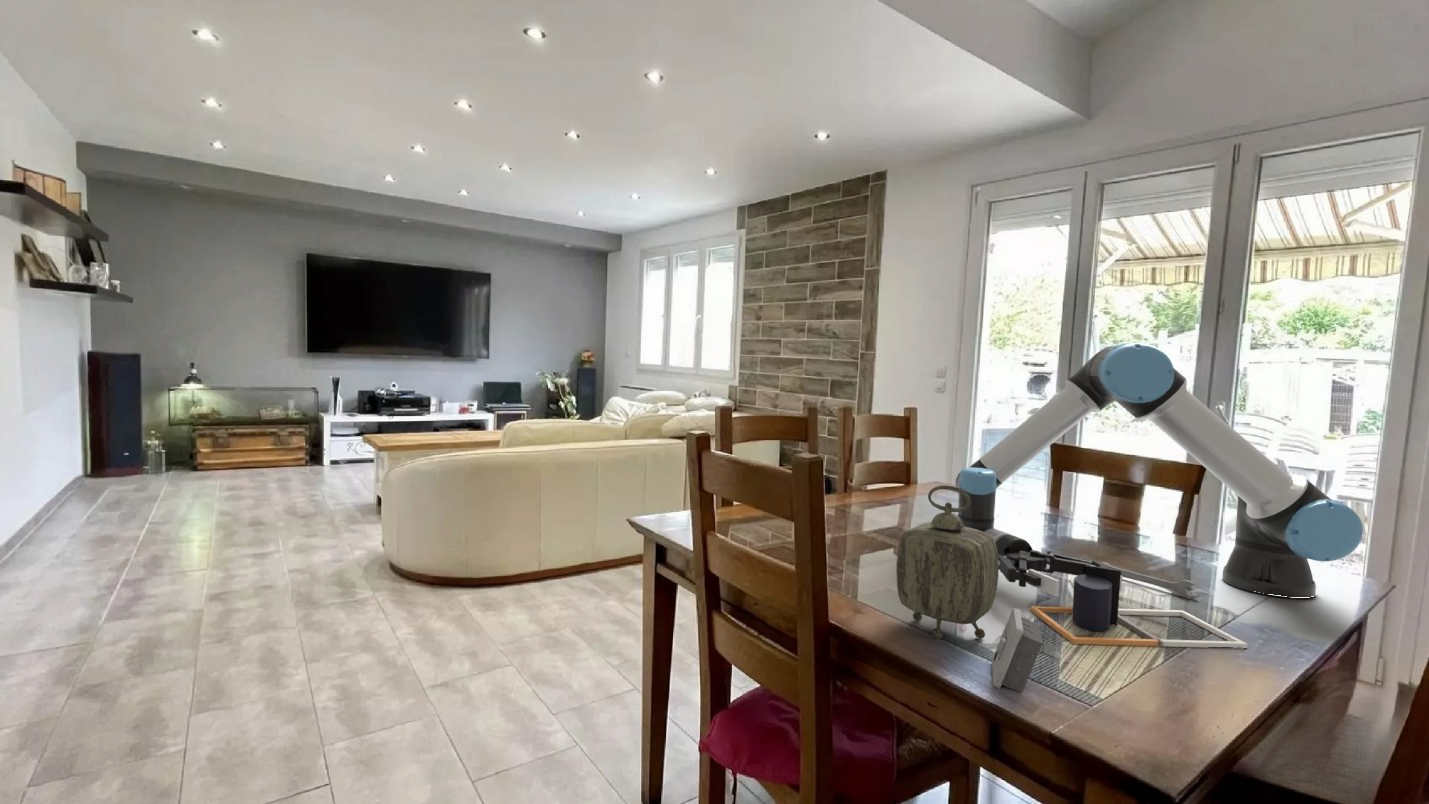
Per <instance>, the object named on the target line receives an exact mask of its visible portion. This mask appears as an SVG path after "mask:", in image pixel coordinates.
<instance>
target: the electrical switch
mask: <svg viewBox="0 0 1429 804" xmlns="http://www.w3.org/2000/svg"><path fill="white" fill-rule="evenodd" d="M1042 646H1043V639H1042V636H1041V629H1040V625H1039V623H1038V622H1034V621H1032V620H1029V619H1028V618H1026V617H1025V616H1021V609H1018V608H1015V607H1013V609H1012V610H1011V612H1010V614H1009V616H1008V619H1007V621H1006V624H1005V625H1004V628H1003V631H1002V633H1001V636H1000V638H999V641H998V644H997V646H996V649H995V651H994V653H993V656H992V660H991V668H992V669H991V674H992V687H994V688H996V689H998V690H1000V689H1001V687H1002V685H1003V686H1005V687H1007V688H1009V689H1013V690H1015V691H1017V692H1018V693H1019V692H1020V693H1023V692H1024V690H1025V687H1026V684H1027V682H1028V680H1029V678H1030V675H1031V672H1032V670H1033V668H1034V666H1035V663H1036V661H1037V658H1038V655H1039V653H1040V651H1041V648H1042Z"/></svg>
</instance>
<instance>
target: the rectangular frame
mask: <svg viewBox="0 0 1429 804" xmlns="http://www.w3.org/2000/svg"><path fill="white" fill-rule="evenodd" d="M1029 607H1030V609H1029V611H1030V612H1031V613H1033V614H1034V615H1035V616H1037V617H1038V618H1039V619H1040V620H1042V621H1044V622H1045V623H1046V624H1047V625H1048V626H1050V627H1051V628H1052V629H1053V630H1055V631H1056V632H1057V633H1059V634H1060V635H1061V636H1062V637H1064V638H1065V639H1066V640H1068V641H1069V642H1070V643H1072V644H1073V645H1101V646H1104V645H1106V646H1108V645H1109V646H1135V647H1136V646H1137V647H1139V646H1142V647H1144V646H1145V647H1170V648H1171V647H1175V648H1178V647H1179V648H1181V647H1182V648H1208V647H1243V648H1242V649H1244V648H1247V649H1248V643H1246V642H1244V640H1241V639H1239V638H1237V637H1235V636H1233V635H1231V634H1229V633H1227V632H1225V631H1223V630H1222V629H1219V628H1217V627H1216V626H1214V625H1212V624H1210V623H1208V622H1206V621H1205V620H1202V619H1200V618H1198V617H1197V616H1194V615H1193V614H1190V613H1188V612H1187V611H1185V610H1183V609H1182V610H1179V609H1177V610H1176V609H1175V610H1174V609H1147V608H1146V609H1144V608H1143V609H1142V608H1118V620H1117V622H1119V623H1120V624H1121V625H1123V626H1125V627H1126V628H1128V629H1130V630H1132V632H1134V633H1137V634H1138V635H1140V636H1141V637H1142V638H1123V637H1122V638H1119V637H1087V636H1086V637H1083V636H1082V637H1080V636H1075V635H1074V634H1072V633H1071V632H1070V631H1068V630H1067V629H1066V628H1064V627H1063V626H1062V625H1061V624H1059V623H1058V622H1056V621H1055V620H1054V619H1052V618H1051V617H1050V616H1048V615H1047V614H1046V613H1048V614H1049V613H1051V614H1052V613H1053V614H1055V613H1057V614H1073V606H1071V607H1070V606H1069V607H1067V606H1066V607H1065V606H1040V605H1039V606H1038V605H1037V606H1035V605H1034V606H1033V605H1032V606H1031V605H1030V606H1029ZM1122 615H1124V616H1126V615H1127V616H1128V615H1129V616H1132V615H1133V616H1158V617H1159V616H1162V617H1163V616H1164V617H1168V616H1169V617H1182V618H1184V619H1185V620H1188V621H1190V622H1192V623H1194V624H1196V625H1197V626H1199V627H1201V628H1203V629H1205V630H1207V631H1208V632H1210V633H1212V634H1214V635H1215V636H1218V637H1220V638H1221V637H1222V639H1223V638H1224V639H1223V640H1194V639H1193V640H1192V639H1190V640H1189V639H1188V640H1187V639H1160V638H1158V637H1156V636H1155V635H1153V634H1151V633H1150V632H1148V631H1147V630H1146V629H1143V628H1142V627H1140V626H1139V625H1138V624H1136V623H1133V622H1132V621H1131V620H1129V619H1127V618H1125V617H1124V616H1122ZM1225 639H1226V640H1225ZM1224 640H1225V641H1224Z"/></svg>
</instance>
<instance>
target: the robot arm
mask: <svg viewBox="0 0 1429 804" xmlns="http://www.w3.org/2000/svg"><path fill="white" fill-rule="evenodd" d="M1187 385H1188V384H1187V378H1186V377H1185V376H1183V374H1181V373H1180V372H1179V371H1178V370H1177V369H1175V368H1174V365H1173V363H1172V361H1171V358H1170V357H1168V355H1167V354H1166V353H1165V352H1164V351H1163V350H1161V349H1159V348H1157V347H1156V346H1154V345H1150V344H1147V343H1143V342H1127V343H1123V344H1122V343H1121V344H1118V345H1112V346H1108V347H1105V348H1103V349H1101V350H1099V351H1098V352H1096V353H1095V354H1093V356H1092V357H1091V358H1089V360H1088V361H1087V362H1085V364H1084V365H1082V367H1080V368H1079V369H1078V370H1077V371H1076V372H1075V373H1074V374H1073V375H1072V376H1071V377H1070V378H1068V379H1067V380H1066V381H1065V387H1064V388H1063V389H1062V390H1061V391H1060V392H1058V394H1056V395H1055V396H1054V397H1052V398H1051V399H1050V400H1049V401H1048V402H1046V403H1045V404H1044V405H1043V406H1041V407H1040V408H1039V409H1038V410H1037V411H1036V412H1034V413H1033V414H1032V415H1030V417H1028V418H1027V419H1026V420H1025V421H1024V422H1022V423H1021V424H1020V425H1019V426H1017V427H1016V428H1015V429H1014V430H1012V431H1011V432H1010V433H1008V435H1006V436H1005V437H1003V439H1001V440H1000V441H999V442H998V443H996V444H995V445H994V446H993V447H992V448H991V449H990V450H989V449H988V451H987V452H985V454H983V455H982V456H981V457H980V458H978V459H977V460H976V461H975V462H973V463H972V464H971V465H970V466H969V467H964V468H962V469H961V470H960V472H959V473H958V474H957V476H956V478H955V487H957V488H960V489H961V490H963V491H964V492H965V493H966V494H967V495H968V496H969V498H970V505H969V507H968V508H967V509H966V510H964V511H960V512H957V516H959V518H960V519H961V520H962V522H963V524H964V527H968V528H972V529H976V530H980V531H982V532H985V533H987V534H988V535H990V536H992V537H993V538H994V541H995V544H996V547H997V553H998V571H1000V572H1001V574H1002V575H1003V576H1004V577H1005V579H1006V580H1007V582H1009V583H1011V584H1012V583H1016V581H1018V586H1019V587H1021V588H1026V587H1027V584H1028V585H1030V586H1032V587H1034V588H1036V589H1039V590H1041V591H1042V592H1045V593H1047V594H1049V595H1051V596H1054V597H1059V595H1060V580H1059V579H1057V578H1054V577H1052V576H1049V575H1047V574H1054V573H1055V572H1056V573H1061V574H1065V575H1066V574H1068V575H1072V576H1078V575H1085V574H1086V565H1090V566H1097V567H1101V566H1100V563H1101V562H1098V561H1096V560H1094V559H1092V560H1087V559H1082V558H1078V557H1074V556H1069V555H1064V554H1059V553H1057V552H1054V551H1052V550H1048V551H1046V553H1045V552H1041V551H1039V550H1033V548H1032V546H1031V544H1030V543H1029V542H1028V541H1027V540H1026V539H1024V538H1022V537H1018V536H1015V535H1013V534H1010V533H1009V532H1006V531H1002V530H1000V529H997V528H994V527H995V510H996V495H997V494H996V493H997V488H999V486H1001V485H1002V484H1003V483H1005V482H1006V481H1007V480H1008V479H1009V478H1011V477H1012V476H1013V475H1015V474H1016V473H1017V472H1018V471H1020V470H1021V469H1022V468H1023V467H1024V466H1026V465H1027V464H1028V463H1029V462H1031V461H1032V460H1033V459H1035V458H1036V457H1037V456H1038V455H1039V454H1040V453H1042V452H1043V451H1045V449H1047V448H1049V447H1050V446H1051V445H1052V444H1053V443H1054V442H1056V441H1057V440H1058V439H1059V438H1061V437H1062V436H1063V435H1065V434H1066V433H1068V431H1069V430H1071V429H1072V428H1073V427H1074V426H1077V424H1078V423H1080V422H1081V421H1082V420H1083V419H1085V418H1086V417H1087V416H1089V415H1090V414H1092V413H1099V412H1102V410H1104V409H1105V408H1106V407H1107V406H1109V405H1111V404H1112V403H1114V402H1116V403H1117V404H1118V405H1120V406H1121V407H1122V408H1123V409H1125V410H1126V411H1127V412H1128V413H1129V414H1130V415H1131V416H1133V417H1134V418H1135V419H1137V420H1149V421H1151V422H1152V423H1153V424H1154V425H1155V426H1157V427H1158V429H1160V430H1161V431H1162V432H1164V433H1165V434H1166V435H1167V436H1168V437H1169V438H1170V439H1172V440H1173V441H1174V442H1175V443H1176V444H1177V445H1179V447H1180V448H1182V449H1183V450H1184V451H1185V452H1187V454H1189V455H1190V456H1191V457H1193V458H1194V459H1195V460H1196V461H1197V462H1199V464H1201V465H1202V466H1203V467H1204V468H1205V469H1206V470H1208V471H1209V472H1210V473H1211V474H1212V475H1214V476H1215V478H1217V479H1218V480H1219V481H1221V483H1223V484H1224V485H1225V486H1226V487H1227V488H1229V489H1230V490H1231V491H1232V492H1233V493H1234V494H1235V495H1237V509H1236V523H1235V526H1236V527H1235V541H1234V547H1233V548H1232V551H1231V552H1230V555H1229V557H1228V560H1227V563H1226V565H1224V567H1222V568H1223V569H1222V577H1221V579H1222V581H1223V582H1224V583H1227V584H1228V585H1230V586H1233V587H1236V588H1238V589H1241V588H1242V589H1241V590H1244V589H1245V591H1248V592H1251V591H1256V592H1260V593H1264V594H1263V595H1265V594H1274V595H1281V596H1287V597H1311V596H1314V595H1315V596H1316V591H1317V584H1316V581H1314V578H1313V574H1312V570H1311V565H1310V564H1309V561H1308V560H1312V561H1317V562H1333V561H1337V560H1340V559H1344V558H1345V557H1347V556H1349V555H1350V554H1352V553H1353V552H1354V551H1355V550H1356V549H1357V548H1358V547H1359V545H1360V544H1361V541H1362V539H1363V531H1364V527H1363V523H1362V520H1361V518H1360V516H1359V514H1358V513H1357V512H1356V511H1355V510H1354V509H1353V508H1351V507H1350V506H1348V505H1346V504H1345V503H1343V502H1341V501H1339V500H1334V499H1332V498H1330V497H1329V496H1327V495H1326V494H1325V492H1323V491H1322V490H1320V489H1319V488H1318V487H1317V486H1316V485H1314V484H1313V483H1312V482H1311V481H1310V480H1308V479H1307V478H1305V477H1304V476H1302V475H1294V474H1293V475H1290V474H1287V473H1286V472H1285V471H1284V470H1283V469H1282V468H1280V467H1279V466H1278V465H1276V464H1275V463H1274V462H1273V461H1272V460H1271V459H1270V458H1268V457H1267V456H1266V455H1265V454H1264V453H1262V452H1261V451H1260V450H1259V449H1258V448H1257V447H1255V446H1254V445H1253V444H1251V442H1249V441H1248V440H1247V439H1246V438H1244V437H1243V436H1242V435H1241V434H1240V433H1239V432H1237V431H1236V430H1235V429H1234V428H1233V427H1231V426H1230V425H1229V424H1228V423H1227V422H1225V421H1224V420H1223V419H1222V418H1221V417H1219V416H1218V415H1217V414H1216V413H1215V412H1213V411H1212V410H1211V409H1210V408H1208V407H1207V405H1205V404H1204V403H1203V402H1202V401H1200V400H1199V399H1198V398H1197V397H1195V396H1194V395H1193V393H1191V392H1190V391H1189V390H1187ZM957 494H958V507H957V508H962V507H964V506H966V505H967V499H966V498H965V497H964V496H963V495H962V494H961V493H959V492H957ZM1047 565H1048V566H1049V568H1047V567H1048V566H1047ZM1045 573H1046V574H1045ZM1122 587H1123V577H1122V576H1121V578H1120V592H1122ZM1260 593H1259V594H1260Z"/></svg>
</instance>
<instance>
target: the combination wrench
mask: <svg viewBox="0 0 1429 804" xmlns="http://www.w3.org/2000/svg"><path fill="white" fill-rule="evenodd" d="M1099 563H1100V567H1102V566H1101V565H1105V566H1106V567H1107V568H1110V569H1116V570H1121V576H1122V578H1126V579H1130V580H1134V581H1137V582H1140V583H1141V582H1142V583H1145V584H1148V585H1149V584H1150V585H1154V586H1157V587H1161V588H1164V589H1169V590H1172V591H1173V592H1175V593H1177V594H1179V595H1180V596H1181V598H1186V599H1189V600H1193V599H1196V598H1199V597H1200V594H1190V592H1189V591H1188V586H1197V585H1198V584H1197V583H1195V582H1193V581H1191V580H1187V579H1182V580H1180V581H1177V582H1174V581H1172V582H1171V581H1168V580H1165V579H1161V578H1158V577H1153V576H1149V575H1145V574H1142V573H1138V572H1134V571H1130V570H1127V569H1122V568H1119V567H1115V566H1113V565H1110V564H1109V563H1107V562H1105V561H1102V562H1099Z"/></svg>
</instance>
